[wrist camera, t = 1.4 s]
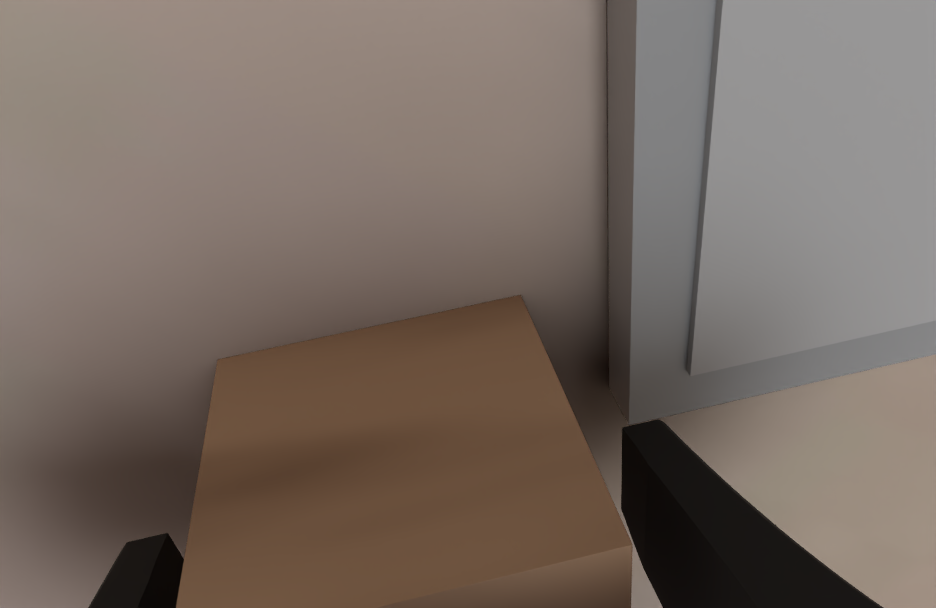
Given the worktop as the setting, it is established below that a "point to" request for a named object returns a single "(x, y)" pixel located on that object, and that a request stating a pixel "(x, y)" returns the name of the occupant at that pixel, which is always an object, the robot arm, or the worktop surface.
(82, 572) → the worktop surface
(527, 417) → the cube
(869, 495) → the worktop surface
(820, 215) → the grey framed panel
